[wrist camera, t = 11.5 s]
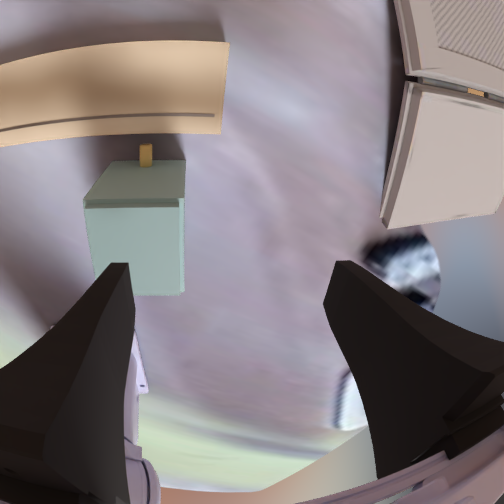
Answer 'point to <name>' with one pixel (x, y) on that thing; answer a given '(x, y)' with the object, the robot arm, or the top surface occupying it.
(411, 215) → the gadget
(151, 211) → the green box with tab
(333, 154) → the top surface
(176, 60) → the plank
